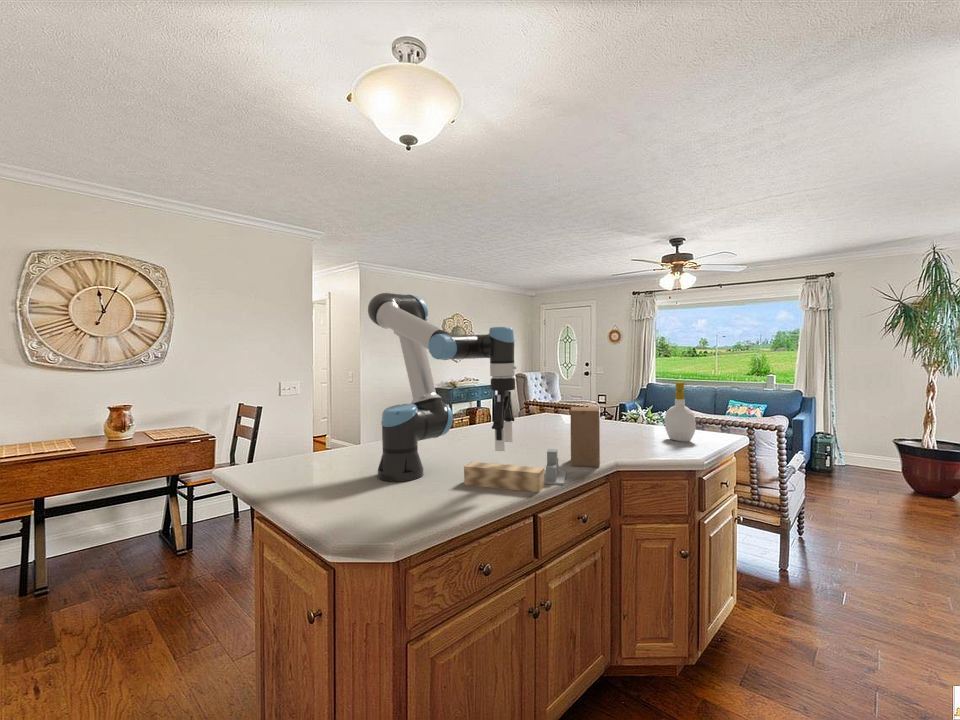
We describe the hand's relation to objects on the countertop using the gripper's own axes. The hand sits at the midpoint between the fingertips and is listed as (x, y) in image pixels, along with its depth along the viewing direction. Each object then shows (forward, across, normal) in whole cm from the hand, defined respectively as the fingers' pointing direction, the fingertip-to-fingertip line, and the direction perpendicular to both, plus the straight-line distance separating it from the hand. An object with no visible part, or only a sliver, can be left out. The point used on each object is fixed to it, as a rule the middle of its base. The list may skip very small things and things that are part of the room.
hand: (504, 446), depth 141 cm
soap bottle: (+13, +81, -64) cm, 105 cm away
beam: (+12, 0, 0) cm, 13 cm away
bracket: (+12, +11, -14) cm, 21 cm away
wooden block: (+12, +32, -24) cm, 42 cm away
